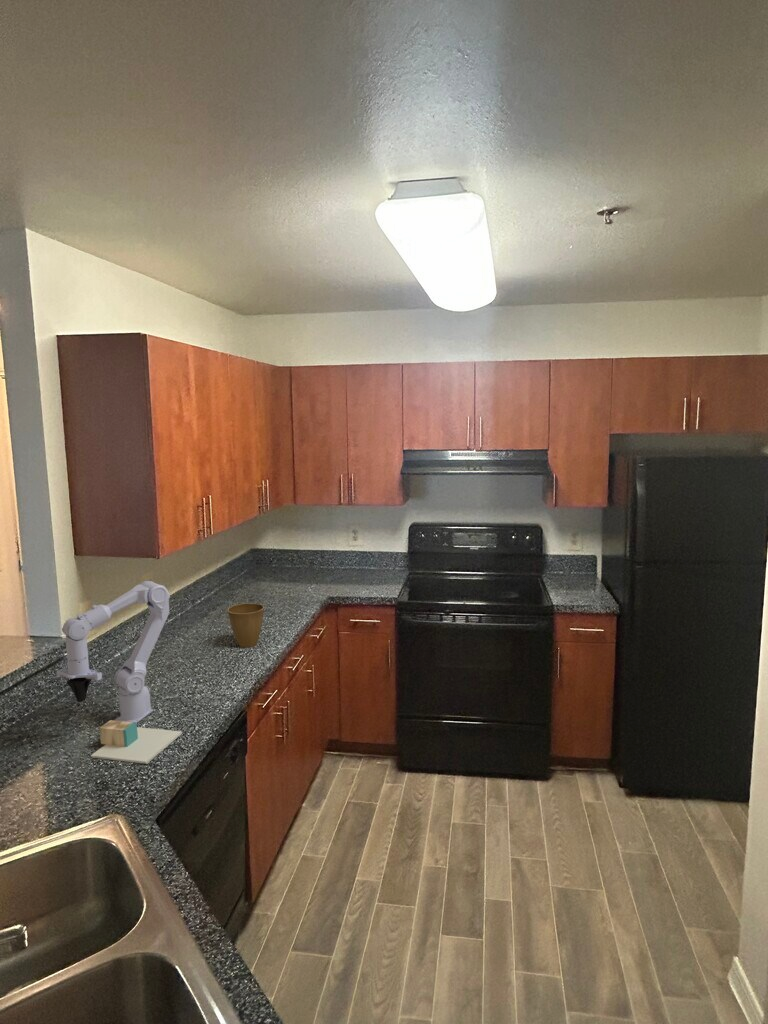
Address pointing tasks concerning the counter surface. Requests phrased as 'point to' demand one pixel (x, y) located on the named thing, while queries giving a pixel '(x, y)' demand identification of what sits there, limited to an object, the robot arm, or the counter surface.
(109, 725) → the wooden block
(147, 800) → the counter surface
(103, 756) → the board
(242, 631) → the plant pot
